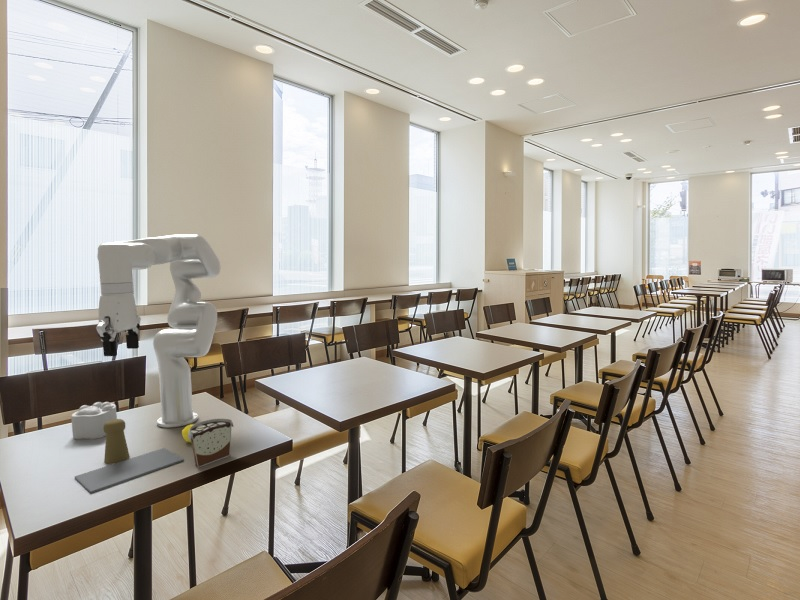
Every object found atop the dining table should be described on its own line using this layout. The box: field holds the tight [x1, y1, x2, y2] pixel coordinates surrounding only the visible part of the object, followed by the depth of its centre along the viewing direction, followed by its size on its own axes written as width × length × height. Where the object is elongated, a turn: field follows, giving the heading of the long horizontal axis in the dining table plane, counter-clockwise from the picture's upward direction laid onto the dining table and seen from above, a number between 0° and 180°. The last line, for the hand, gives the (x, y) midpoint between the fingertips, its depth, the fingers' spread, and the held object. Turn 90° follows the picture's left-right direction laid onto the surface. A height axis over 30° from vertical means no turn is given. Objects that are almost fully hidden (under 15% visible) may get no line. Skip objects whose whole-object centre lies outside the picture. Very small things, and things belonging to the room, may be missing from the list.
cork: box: [103, 418, 131, 465], centre depth 127 cm, size 6×6×11 cm
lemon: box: [181, 423, 196, 444], centre depth 139 cm, size 7×5×5 cm
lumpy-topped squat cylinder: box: [70, 401, 118, 440], centre depth 148 cm, size 10×13×9 cm
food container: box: [188, 418, 234, 469], centre depth 127 cm, size 12×6×10 cm, turn 141°
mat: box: [74, 447, 185, 494], centre depth 121 cm, size 12×22×1 cm, turn 140°
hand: (122, 352), depth 126 cm, fingers open, 9 cm apart
